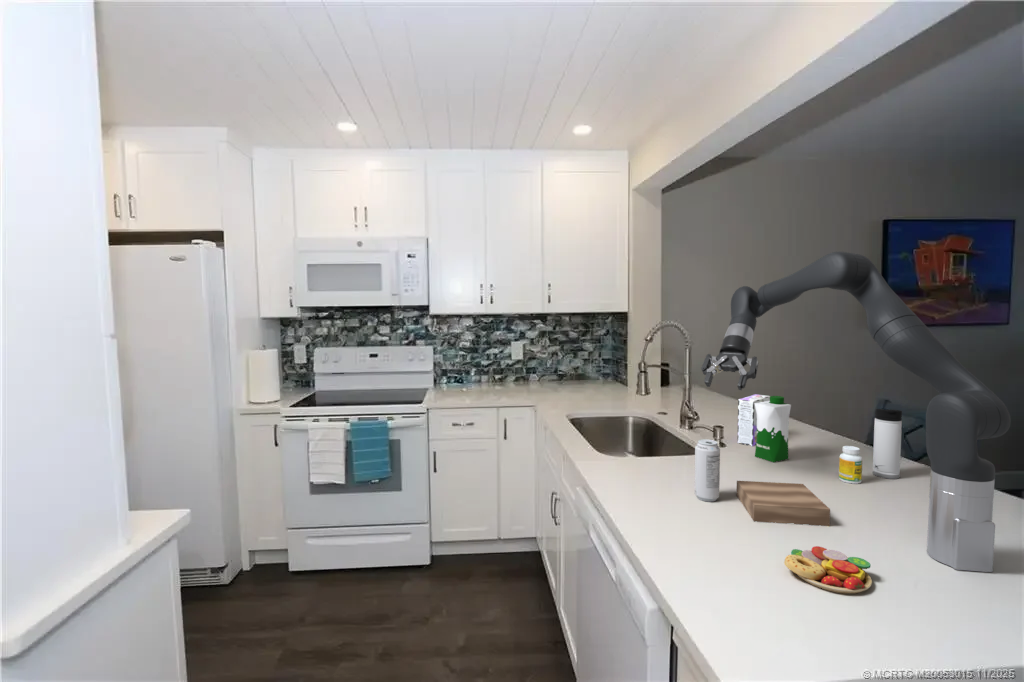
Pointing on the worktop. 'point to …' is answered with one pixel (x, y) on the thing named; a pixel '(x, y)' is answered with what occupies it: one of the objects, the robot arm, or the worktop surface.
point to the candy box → (748, 418)
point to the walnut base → (782, 503)
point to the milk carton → (772, 429)
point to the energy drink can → (707, 470)
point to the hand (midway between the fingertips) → (723, 386)
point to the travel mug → (887, 443)
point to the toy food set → (830, 570)
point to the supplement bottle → (850, 465)
